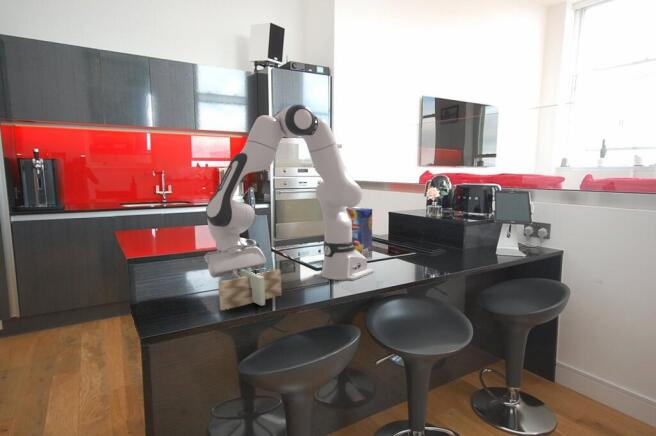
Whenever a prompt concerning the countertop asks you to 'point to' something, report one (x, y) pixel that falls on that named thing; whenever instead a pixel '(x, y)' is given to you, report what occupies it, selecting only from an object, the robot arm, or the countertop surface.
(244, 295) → the brown zigzag slotted board
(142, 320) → the countertop surface
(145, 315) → the countertop surface
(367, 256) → the juice carton
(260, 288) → the sage plate
